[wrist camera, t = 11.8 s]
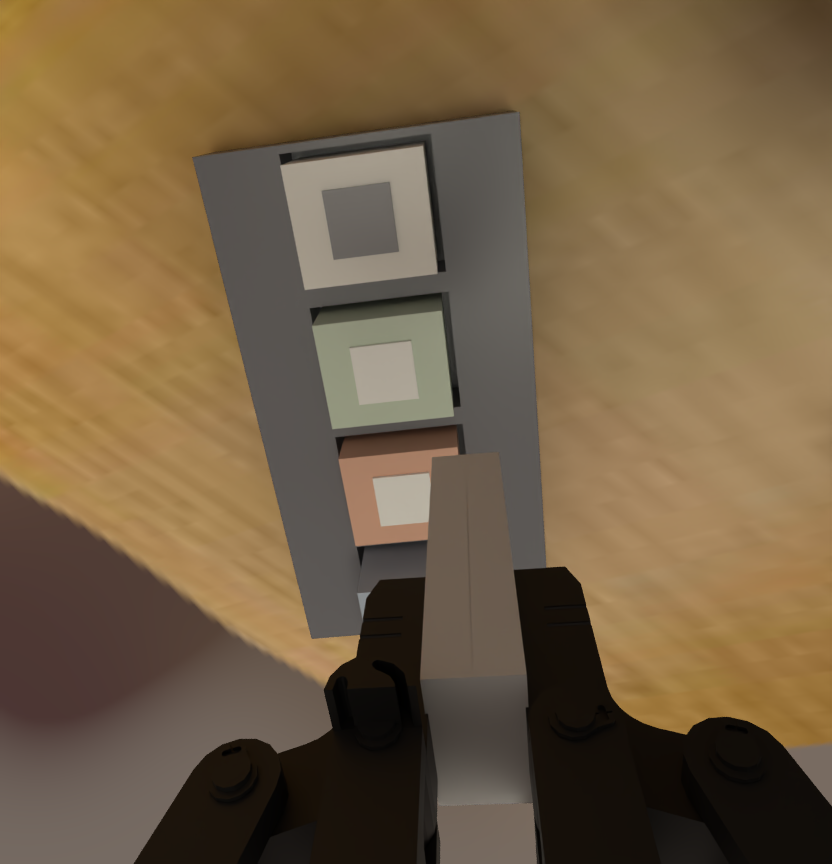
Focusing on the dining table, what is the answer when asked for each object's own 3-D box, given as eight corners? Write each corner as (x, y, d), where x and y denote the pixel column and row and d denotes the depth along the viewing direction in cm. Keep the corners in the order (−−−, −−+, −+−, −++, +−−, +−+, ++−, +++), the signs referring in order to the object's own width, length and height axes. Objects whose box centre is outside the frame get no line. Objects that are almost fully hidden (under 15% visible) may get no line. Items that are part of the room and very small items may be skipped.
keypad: (212, 152, 28) (192, 157, 26) (512, 110, 27) (519, 111, 25) (319, 605, 38) (311, 638, 35) (541, 585, 37) (549, 619, 34)
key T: (348, 423, 32) (337, 461, 29) (455, 411, 32) (457, 448, 29) (363, 503, 34) (355, 548, 31) (464, 494, 34) (467, 537, 30)
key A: (325, 301, 30) (311, 327, 27) (441, 287, 30) (441, 311, 26) (342, 395, 32) (332, 430, 28) (452, 383, 31) (453, 417, 28)
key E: (298, 157, 27) (279, 166, 24) (424, 140, 27) (422, 146, 24) (319, 269, 29) (303, 290, 26) (437, 254, 29) (437, 274, 26)
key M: (365, 545, 33) (356, 595, 30) (468, 535, 33) (472, 585, 30) (378, 617, 35) (372, 672, 32) (476, 608, 35) (481, 663, 32)
